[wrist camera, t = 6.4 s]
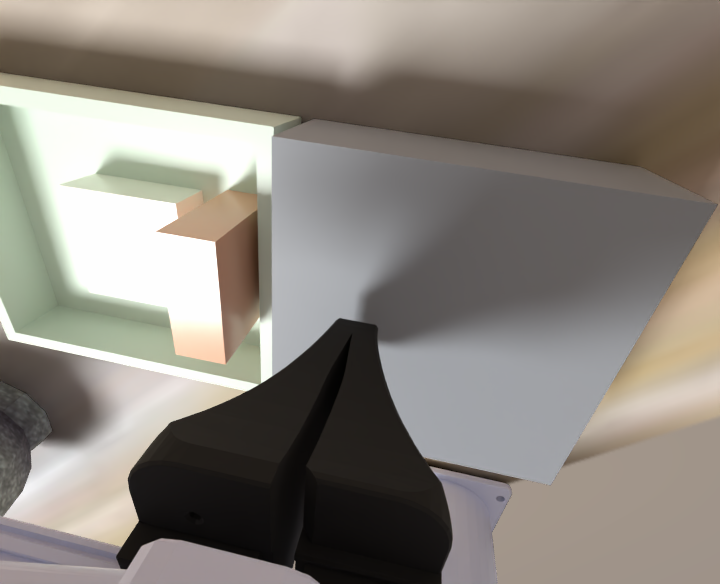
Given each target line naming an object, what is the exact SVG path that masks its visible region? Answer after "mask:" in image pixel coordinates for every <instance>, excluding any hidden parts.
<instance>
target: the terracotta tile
mask: <svg viewBox="0 0 720 584" xmlns="http://www.w3.org/2000/svg"><path fill="white" fill-rule="evenodd" d="M155 235H156V241H157V247H158V252H159V258H160V264H161V270H162V276H163V282H164V288H165V294H166V300H167V305H168V311H169V317H170V323H171V329H172V335H173V341H174V347H175V353H176V355H181V356H186V357H191V358H196V359H201V360H206V361H210V362H215V363H220V364H225V365H226V364H227V362H228V361H229V359H230V358H231V357H232V355H233V354H234V352H235V351H236V350H237V348H238V347H239V345H240V344H241V343H242V341H243V340H244V338H245V337H246V336H247V334H248V333H249V331H250V330H251V329H252V327H253V326H254V324H255V323H256V322H257V320H258V319H259V317H260V305H259V258H258V212H257V194H251V193H245V192H239V191H233V190H226V191H224V192H223V193H221V194H219V195H218V196H216V197H214V198H212V199H211V200H209V201H207V202H205V203H204V204H202V205H200V206H199V207H197V208H195V209H193V210H192V211H190V212H188V213H186V214H185V215H183V216H181V217H180V218H178V219H176V220H174V221H173V222H171V223H169V224H167V225H166V226H164V227H162V228H161V229H159V230H157V231H155Z"/></svg>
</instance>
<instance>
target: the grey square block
mask: <svg viewBox="0 0 720 584" xmlns="http://www.w3.org/2000/svg"><path fill="white" fill-rule="evenodd" d="M717 205H718V204H716V203H714V202H712V201H710V200H707V199H705V198H703V197H701V196H699V195H697V194H695V193H693V192H691V191H689V190H687V189H685V188H683V187H681V186H679V185H677V184H675V183H673V182H671V181H669V180H667V179H665V178H663V177H661V176H658V175H656V174H654V173H652V172H650V171H648V170H646V169H644V168H642V167H638V166H631V165H625V164H618V163H611V162H604V161H598V160H591V159H584V158H577V157H570V156H564V155H557V154H550V153H543V152H537V151H530V150H523V149H516V148H509V147H503V146H496V145H489V144H482V143H475V142H469V141H462V140H455V139H448V138H442V137H435V136H428V135H421V134H414V133H408V132H401V131H394V130H387V129H381V128H374V127H367V126H360V125H353V124H347V123H340V122H333V121H326V120H319V119H312V120H310V121H307V122H305V123H303V124H300V125H298V126H295V127H293V128H290V129H288V130H286V131H283V132H281V133H278V134H276V135H273V136H272V376H273V375H275V374H276V373H278V372H279V371H281V370H282V369H283V368H285V367H286V366H287V365H289V364H290V363H291V362H292V361H294V360H295V359H296V358H297V357H299V356H300V355H301V354H302V353H304V352H305V351H306V350H307V349H308V348H309V347H310V346H311V345H312V344H314V343H315V342H316V341H317V340H318V339H319V338H320V337H321V336H322V335H323V334H324V333H325V332H326V331H327V330H328V329H329V328H330V327H331V325H332V324H333V323H334V322H335V321H336V320H337V319H339V318H342V319H347V320H353V321H358V322H364V323H369V324H374V325H376V326H377V327H378V335H377V338H378V349H379V355H380V360H381V364H382V369H383V373H384V376H385V380H386V383H387V386H388V389H389V392H390V395H391V397H392V400H393V402H394V405H395V407H396V409H397V411H398V414H399V416H400V418H401V420H402V422H403V424H404V426H405V428H406V429H407V431H408V433H409V435H410V437H411V438H412V440H413V442H414V444H415V445H416V447H417V449H418V450H419V452H420V453H421V455H422V456H423V457H425V458H430V459H434V460H439V461H443V462H448V463H452V464H457V465H461V466H466V467H470V468H475V469H479V470H484V471H488V472H493V473H497V474H502V475H506V476H511V477H515V478H520V479H524V480H529V481H533V482H538V483H542V484H547V485H551V484H552V482H553V481H554V479H555V477H556V476H557V474H558V472H559V471H560V469H561V467H562V466H563V464H564V462H565V461H566V459H567V457H568V456H569V454H570V452H571V451H572V449H573V447H574V446H575V444H576V442H577V441H578V439H579V437H580V435H581V434H582V432H583V430H584V429H585V427H586V425H587V424H588V422H589V420H590V419H591V417H592V415H593V414H594V412H595V410H596V409H597V407H598V405H599V404H600V402H601V400H602V398H603V397H604V395H605V393H606V392H607V390H608V388H609V387H610V385H611V383H612V382H613V380H614V378H615V377H616V375H617V373H618V372H619V370H620V368H621V367H622V365H623V363H624V362H625V360H626V358H627V356H628V355H629V353H630V351H631V350H632V348H633V346H634V345H635V343H636V341H637V340H638V338H639V336H640V335H641V333H642V331H643V330H644V328H645V326H646V325H647V323H648V321H649V320H650V318H651V316H652V314H653V313H654V311H655V309H656V308H657V306H658V304H659V303H660V301H661V299H662V298H663V296H664V294H665V293H666V291H667V289H668V288H669V286H670V284H671V283H672V281H673V279H674V278H675V276H676V274H677V272H678V271H679V269H680V267H681V266H682V264H683V262H684V261H685V259H686V257H687V256H688V254H689V252H690V251H691V249H692V247H693V246H694V244H695V242H696V241H697V239H698V237H699V236H700V234H701V232H702V230H703V229H704V227H705V225H706V224H707V222H708V220H709V219H710V217H711V215H712V214H713V212H714V210H715V209H716V207H717Z"/></svg>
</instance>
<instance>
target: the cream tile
mask: <svg viewBox="0 0 720 584" xmlns="http://www.w3.org/2000/svg"><path fill="white" fill-rule="evenodd" d="M58 186H59V190H60V193H61V196H62V200H63V203H64V207H65V210H66V214H67V217H68V220H69V224H70V227H71V231H72V234H73V238H74V241H75V245H76V248H77V251H78V255H79V258H80V262H81V265H82V269H83V272H84V276H85V279H86V282H87V286H88V289H89V292H91V293H96V294H101V295H107V296H112V297H117V298H122V299H128V300H133V301H138V302H143V303H149V304H154V305H159V306H165V307H168V305H167V300H166V294H165V288H164V282H163V276H162V270H161V264H160V258H159V252H158V247H157V241H156V235H155V231H157V230H159V229H161V228H162V227H164V226H166V225H167V224H169V223H171V222H173V221H174V220H176V219H178V218H180V217H181V216H183V215H185V214H186V213H188V212H190V211H192V210H193V209H195V208H197V207H199V206H200V205H202V204H204V203H203V194H202V190H198V189H192V188H186V187H179V186H173V185H166V184H160V183H154V182H147V181H141V180H135V179H128V178H122V177H116V176H109V175H103V174H96V173H95V174H92V175H89V176H85V177H82V178H79V179H76V180H72V181H69V182H66V183H63V184H60V185H58Z"/></svg>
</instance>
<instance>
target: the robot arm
mask: <svg viewBox="0 0 720 584" xmlns="http://www.w3.org/2000/svg"><path fill="white" fill-rule="evenodd" d="M377 335H378V327H377V326H376V325H374V324H369V323H364V322H358V321H353V320H347V319H342V318H339V319H337V320H336V321H335V322H334V323H333V324H332V325H331V327H330V328H329V329H328V330H327V331H326V332H325V333H324V334H323V335H322V336H321V337H320V338H319V339H318V340H317V341H316V342H315V343H314V344H312V345H311V346H310V347H309V348H308V349H307V350H306V351H305V352H304V353H302V354H301V355H300V356H299V357H297V358H296V359H295V360H294V361H292V362H291V363H290V364H289V365H287V366H286V367H285V368H283V369H282V370H281V371H279V372H278V373H276V374H275V375H273V376H272V377H270V378H269V379H267V380H266V381H264V382H262V383H261V384H259V385H257V386H255V387H254V388H252V389H250V390H248V391H247V392H245V393H243V394H241V395H239V396H237V397H235V398H233V399H231V400H228V401H226V402H224V403H222V404H219V405H217V406H215V407H212V408H210V409H207V410H205V411H202V412H199V413H196V414H194V415H191V416H188V417H185V418H182V419H179V420H176V421H173V422H170V424H169V425H168V426H167V427H166V428H165V429H164V430H163V431H162V432H161V433H160V434H159V435H158V436H157V438H156V439H155V440H154V441H153V442H152V444H151V445H150V446H149V447H148V449H147V450H146V451H145V453H144V454H143V455H142V457H141V458H140V459H139V461H138V462H137V463H136V464H135V466H134V467H133V468H132V470H131V471H130V474H129V477H128V484H129V490H130V494H131V497H132V500H133V503H134V506H135V509H136V512H137V515H138V519H139V522H138V524H137V525H136V527H135V528H134V530H133V531H132V533H131V534H130V536H129V537H128V539H127V540H126V542H125V543H124V545H123V546H122V547H119V546H115V545H111V544H107V543H104V542H100V541H96V540H92V539H88V538H84V537H80V536H76V535H72V534H69V533H65V532H61V531H57V530H53V529H49V528H45V527H41V526H37V525H33V524H30V523H26V522H22V521H18V520H14V519H10V518H6V517H2V516H0V584H498V582H497V573H496V565H495V556H494V547H493V539H492V532H493V530H494V528H495V526H496V524H497V522H498V520H499V518H500V516H501V514H502V512H503V510H504V509H505V506H506V505H507V503H508V501H509V499H510V497H511V495H512V491H511V487H510V486H509V485H508V484H506V483H502V482H498V481H493V480H489V479H485V478H480V477H476V476H471V475H467V474H462V473H458V472H453V471H449V470H444V469H440V468H435V467H431V466H429V465H428V464H427V462H426V461H425V459H424V458H423V456H422V455H421V453H420V452H419V450H418V449H417V447H416V445H415V444H414V442H413V440H412V438H411V437H410V435H409V433H408V431H407V429H406V428H405V426H404V424H403V422H402V420H401V418H400V416H399V414H398V411H397V409H396V407H395V405H394V402H393V400H392V397H391V395H390V392H389V389H388V386H387V383H386V380H385V376H384V373H383V369H382V364H381V360H380V355H379V349H378V338H377ZM294 560H295V561H296V564H295V570H294V569H292V568H293V564H294Z"/></svg>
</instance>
